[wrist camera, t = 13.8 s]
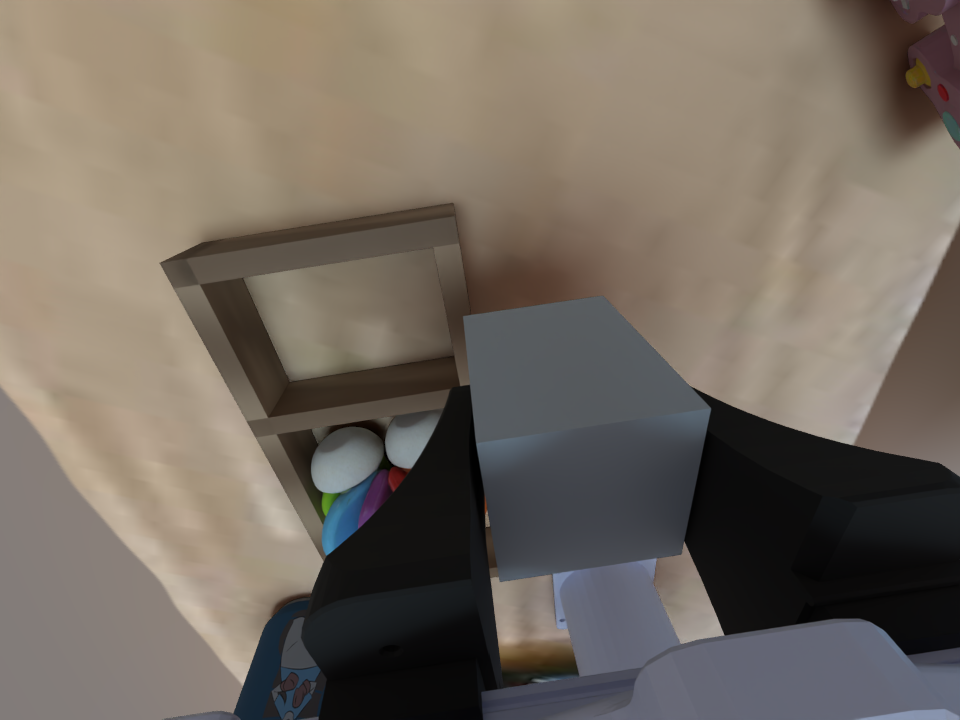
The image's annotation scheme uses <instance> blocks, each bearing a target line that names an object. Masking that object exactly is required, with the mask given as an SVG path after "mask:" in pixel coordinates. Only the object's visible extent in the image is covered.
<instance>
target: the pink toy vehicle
mask: <svg viewBox="0 0 960 720" xmlns="http://www.w3.org/2000/svg"><path fill="white" fill-rule="evenodd" d="M891 2H892V5H893V7H894V8H895V9H896V11H897V12H898V14H899V15H900V17H901V18H902V19H903V20H905V21H907V22H909V23H915V22H917V21H918V20H920V19H921V18H923V17H924V16H926V15H927V14H932V15H936V16H937V15H941V14H942V16H943V19H944V22H945V25H943V26H942V27H940V28H939V29H937V30H935V31H934V32H932V33H931V34H929V35H927V36H926V37H924V38H923V39H921V40H920V41H918V42H916V43H915V44H913V45H912V46H910V47H909V49H908V60H909V64H910V67H911V69H910V70H908V71H907V73H906V80H907V83H908V84H909V85H910V86H911V87H913V88H917V87H919V86H920V88H921V89H922V90H923V91H924V93H925V94H926V95H927V96H928V98H929V99H930V100H931V101H932V103H933V104H934V106H935V107H936V109H937V111H938V113H939V115H940V117H941V119H942V120H943V122H944V124H945V126H946V128H947V130H948V132H949V133H950V135H951V137H952V139H953V140H954V142H955V143H956V145H957V146H958V147H959V149H960V0H891Z"/></svg>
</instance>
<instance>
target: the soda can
mask: <svg viewBox="0 0 960 720" xmlns="http://www.w3.org/2000/svg"><path fill="white" fill-rule="evenodd" d="M309 601H310V597H305V598H300V599H296V600H293V601H291V602H289V603H287V604H286V605H284V606H283V607H282V608H281V609H280V610H279V611H278V612H277V613H276V614H275V615H274V616H273V617H272V618H271V619H270V620H269V621H268V623H267V624H266V625H265V627H264V629H263V632H262V635H261V638H260V641H259V643H258V646H257V649H256V652H255V655H254V657H253V660H252V663H251V666H250V669H249V671H248V674H247V677H246V680H245V683H244V685H243V688H242V691H241V694H240V697H239V699H238V702H237V705H236V708H235V711H234V713H233V714H234V715H236V716H238V717H239V718H240V719H241V720H301V719H307V718H314V717H319V714H320V709H321V704H322V700H323V695H324V690H325V685H326V681H327V679H326V677H325V676H324V674H323V673H322V671H321V670H320V669H319V667H318V666H317V664H316V663H315V661H314V660H313V659H312V657H311V656H310V654H309V653H308V651H307V650H306V649H305V647H304V644H303V642H302V639H301V632H302V626H303V622H304V618H305V615H306V611H307V608H308V604H309Z"/></svg>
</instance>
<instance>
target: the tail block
mask: <svg viewBox="0 0 960 720" xmlns="http://www.w3.org/2000/svg"><path fill="white" fill-rule="evenodd" d="M463 321H464V331H465V340H466V350H467V360H468V369H469V379H470V389H471V399H472V408H473V418H474V428H475V438H476V446H477V452H478V457H479V463H480V469H481V475H482V481H483V487H484V492H485V498H486V504H487V510H488V516H489V522H490V527H491V533H492V539H493V545H494V551H495V557H496V562H497V568H498V574H499V580H500V582H503V581H510V580H516V579H523V578H530V577H536V576H543V575H549V574H556V573H563V572H569V571H576V570H583V569H589V568H596V567H602V566H609V565H616V564H622V563H629V562H636V561H642V560H649V559H656V558H662V557H669V556H675V555H681V554H682V549H683V544H684V539H685V534H686V529H687V524H688V520H689V515H690V510H691V505H692V500H693V495H694V490H695V485H696V480H697V475H698V470H699V465H700V461H701V456H702V451H703V446H704V441H705V436H706V431H707V426H708V421H709V416H710V411H711V408H710V407H709V406H708V405H707V403H706V402H705V401H704V400H703V399H702V398H701V397H700V396H699V395H698V394H697V393H696V392H695V391H694V390H693V389H692V388H691V387H690V386H689V385H688V384H687V383H686V382H685V381H684V379H683V378H682V377H681V376H680V375H679V374H678V373H677V372H676V371H675V370H674V369H673V368H672V367H671V366H670V365H669V364H668V363H667V362H666V361H665V360H664V359H663V358H662V357H661V356H660V354H659V353H658V352H657V351H656V350H655V349H654V348H653V347H652V346H651V345H650V344H649V343H648V342H647V341H646V340H645V339H644V338H643V337H642V336H641V335H640V334H639V333H638V332H637V330H636V329H635V328H634V327H633V326H632V325H631V324H630V323H629V322H628V321H627V320H626V319H625V318H624V317H623V316H622V315H621V314H620V313H619V312H618V311H617V310H616V309H615V308H614V307H613V305H612V304H611V303H610V302H609V301H608V300H607V299H606V298H605V297H604V296H597V297H590V298H583V299H576V300H569V301H563V302H556V303H549V304H542V305H535V306H529V307H522V308H515V309H508V310H502V311H495V312H488V313H481V314H474V315H468V316H463Z"/></svg>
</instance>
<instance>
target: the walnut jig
mask: <svg viewBox="0 0 960 720" xmlns="http://www.w3.org/2000/svg"><path fill="white" fill-rule="evenodd" d="M427 248H433V249H434V254H435V259H436V264H437V269H438V274H439V279H440V285H441V290H442V295H443V300H444V305H445V310H446V315H447V320H448V326H449V331H450V336H451V341H452V346H453V351H454V356H453V357H447V358H441V359H434V360H428V361H422V362H415V363H409V364H403V365H396V366H390V367H384V368H377V369H371V370H365V371H358V372H352V373H346V374H339V375H333V376H327V377H320V378H314V379H308V380H301V381H295V382H289V380H288V378H287V376H286V374H285V371H284V369H283V367H282V365H281V363H280V360H279V358H278V356H277V354H276V352H275V349H274V347H273V345H272V343H271V340H270V338H269V336H268V334H267V332H266V329H265V327H264V325H263V323H262V321H261V318H260V316H259V314H258V312H257V310H256V307H255V305H254V303H253V301H252V299H251V296H250V294H249V292H248V290H247V287H246V285H245V283H244V281H243V279H242V278H244V277H250V276H257V275H263V274H269V273H275V272H282V271H288V270H294V269H301V268H307V267H313V266H320V265H326V264H332V263H339V262H345V261H351V260H358V259H364V258H370V257H376V256H383V255H389V254H395V253H402V252H408V251H414V250H421V249H427ZM160 265H161V266H162V268H163V270H164V272H165V274H166V276H167V277H168V279H169V281H170V283H171V285H172V286H173V288H174V290H175V292H176V294H177V296H178V297H179V299H180V301H181V303H182V305H183V306H184V308H185V310H186V312H187V314H188V316H189V317H190V319H191V321H192V323H193V325H194V326H195V328H196V330H197V332H198V334H199V336H200V337H201V339H202V341H203V343H204V345H205V346H206V348H207V350H208V352H209V354H210V356H211V357H212V359H213V361H214V363H215V365H216V366H217V368H218V370H219V372H220V374H221V376H222V377H223V379H224V381H225V383H226V385H227V386H228V388H229V390H230V392H231V394H232V396H233V397H234V399H235V401H236V403H237V405H238V406H239V408H240V410H241V412H242V414H243V416H244V417H245V419H246V421H247V423H248V425H249V426H250V428H251V430H252V432H253V434H254V436H255V437H256V439H257V441H258V443H259V445H260V446H261V448H262V450H263V452H264V454H265V456H266V457H267V459H268V461H269V463H270V465H271V466H272V468H273V470H274V472H275V474H276V476H277V477H278V479H279V481H280V483H281V485H282V486H283V488H284V490H285V492H286V494H287V496H288V497H289V499H290V501H291V503H292V505H293V506H294V508H295V510H296V512H297V514H298V516H299V517H300V519H301V521H302V523H303V525H304V526H305V528H306V530H307V532H308V534H309V536H310V537H311V539H312V541H313V543H314V545H315V546H316V548H317V550H318V552H319V554H320V556H321V557H322V559H323V561H324V560H325V558H326V554H325V552H324V550H323V546H322V529H323V524H324V521H325V517H326V516H325V514H324V513H323V510H322V495H323V492H322V491H320V490H319V489H317V487H316V486H315V484H314V482H313V478H312V474H311V463H312V458H313V455H314V453H315V451H316V449H317V447H318V444H317V442H316V440H315V438H314V435H313V433H312V431H311V429H313V428H320V427H326V426H332V425H339V424H345V423H351V422H358V421H364V420H370V419H377V418H383V417H389V416H396V415H402V414H408V413H415V412H421V411H427V410H434V409H440V408H444V407H445V404H446V401H447V398H448V395H449V391H450V390H451V388H452V387H458V386H464V385H470V379H469V369H468V360H467V350H466V340H465V331H464V321H463V316H468V315H471V311H470V304H469V298H468V292H467V286H466V279H465V273H464V267H463V261H462V255H461V248H460V242H459V236H458V230H457V224H456V217H455V211H454V205H453V203H450V204H444V205H437V206H431V207H425V208H418V209H412V210H406V211H399V212H393V213H387V214H381V215H374V216H368V217H362V218H355V219H349V220H343V221H336V222H330V223H324V224H318V225H311V226H305V227H299V228H292V229H286V230H280V231H273V232H267V233H261V234H254V235H248V236H242V237H236V238H229V239H223V240H217V241H210V242H204V243H200V244H198V245H196V246H194V247H192V248H190V249H188V250H186V251H184V252H182V253H180V254H177V255H175V256H173V257H171V258H169V259H167V260H165V261H163V262H161V263H160ZM485 529H486V544H487V553H488V562H489V571H490V578H492V577H499V574H498V568H497V562H496V557H495V551H494V545H493V539H492V533H491V527H489V528H485Z"/></svg>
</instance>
